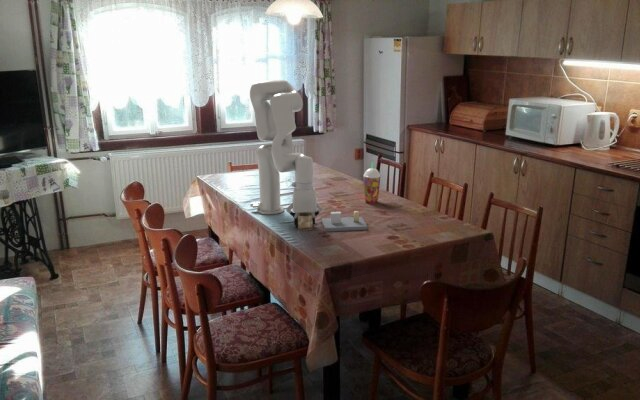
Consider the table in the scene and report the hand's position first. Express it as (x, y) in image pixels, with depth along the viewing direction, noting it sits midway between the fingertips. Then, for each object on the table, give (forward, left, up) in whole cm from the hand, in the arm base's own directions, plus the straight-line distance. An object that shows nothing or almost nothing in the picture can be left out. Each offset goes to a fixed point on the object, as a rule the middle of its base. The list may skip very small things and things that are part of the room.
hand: (304, 225), depth 231 cm
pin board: (+17, 0, -1) cm, 17 cm away
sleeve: (0, 0, -1) cm, 1 cm away
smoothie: (+36, +33, -1) cm, 49 cm away
